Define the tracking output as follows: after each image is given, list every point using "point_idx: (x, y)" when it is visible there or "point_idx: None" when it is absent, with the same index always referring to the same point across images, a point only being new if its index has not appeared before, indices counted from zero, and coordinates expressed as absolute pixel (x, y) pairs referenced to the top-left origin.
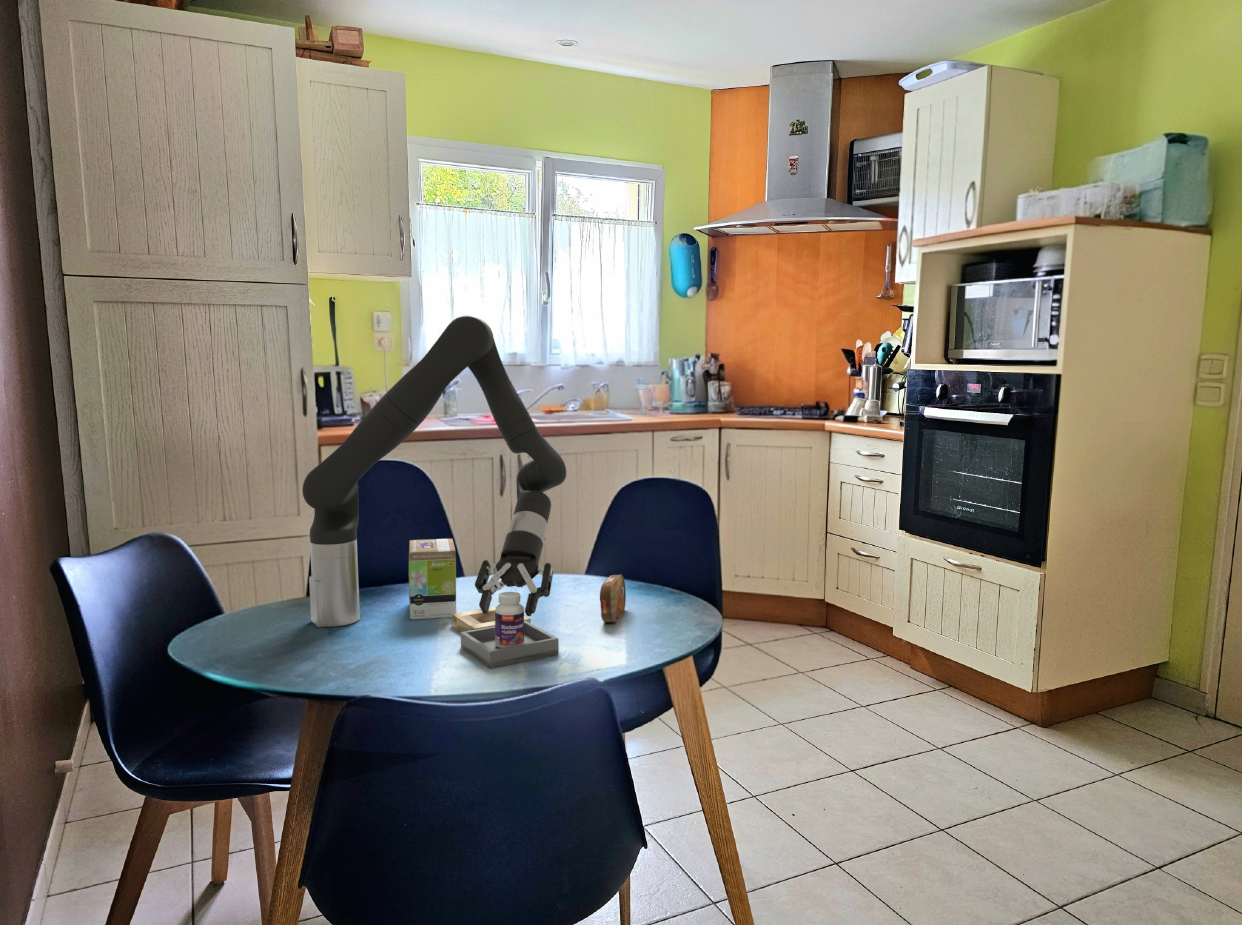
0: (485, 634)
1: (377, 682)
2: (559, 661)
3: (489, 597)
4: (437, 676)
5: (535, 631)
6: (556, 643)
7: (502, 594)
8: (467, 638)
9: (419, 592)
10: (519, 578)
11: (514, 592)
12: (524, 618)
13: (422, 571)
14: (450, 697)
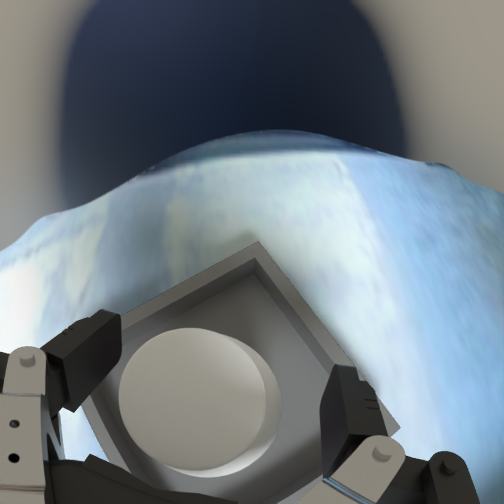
0: (318, 470)
1: (446, 206)
2: (85, 308)
3: (334, 440)
4: (364, 225)
5: (133, 469)
6: None
7: (239, 391)
8: None
9: None
10: (83, 475)
11: (159, 446)
12: None
13: None
14: (300, 143)
